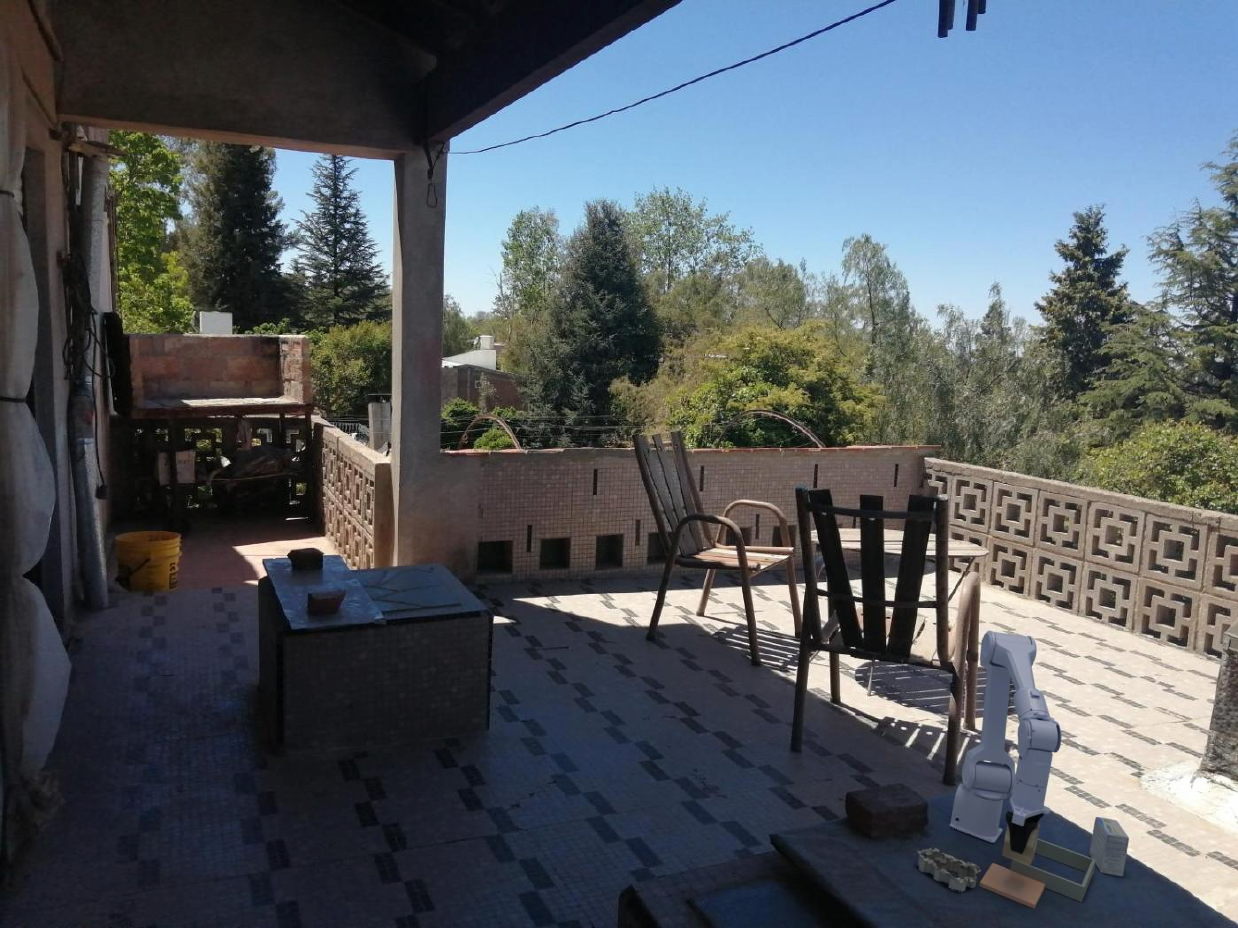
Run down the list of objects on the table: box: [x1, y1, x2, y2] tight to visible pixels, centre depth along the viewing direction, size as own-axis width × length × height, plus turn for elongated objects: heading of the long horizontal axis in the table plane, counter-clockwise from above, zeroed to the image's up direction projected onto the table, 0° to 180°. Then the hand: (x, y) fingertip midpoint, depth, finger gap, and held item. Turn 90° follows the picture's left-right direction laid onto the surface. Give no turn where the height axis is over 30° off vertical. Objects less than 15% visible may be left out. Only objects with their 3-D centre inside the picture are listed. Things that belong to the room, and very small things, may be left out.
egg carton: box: [917, 847, 982, 893], centre depth 180 cm, size 11×8×4 cm
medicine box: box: [1088, 816, 1130, 878], centre depth 192 cm, size 8×4×9 cm, turn 168°
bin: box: [1009, 837, 1096, 903], centre depth 186 cm, size 13×14×3 cm
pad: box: [979, 863, 1046, 909], centre depth 179 cm, size 10×10×1 cm
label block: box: [1001, 823, 1041, 866], centre depth 178 cm, size 4×5×7 cm
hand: (1019, 847), depth 178 cm, fingers closed on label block, 4 cm apart
